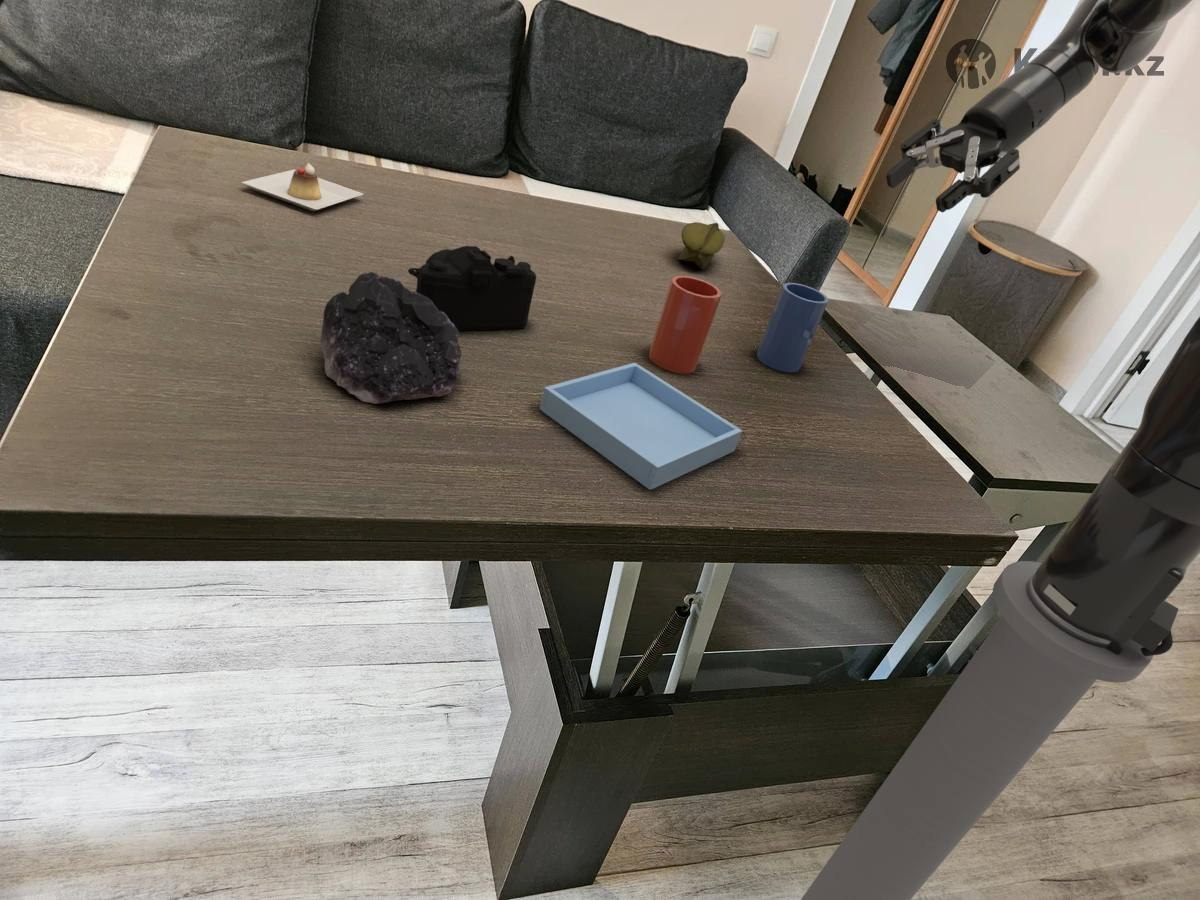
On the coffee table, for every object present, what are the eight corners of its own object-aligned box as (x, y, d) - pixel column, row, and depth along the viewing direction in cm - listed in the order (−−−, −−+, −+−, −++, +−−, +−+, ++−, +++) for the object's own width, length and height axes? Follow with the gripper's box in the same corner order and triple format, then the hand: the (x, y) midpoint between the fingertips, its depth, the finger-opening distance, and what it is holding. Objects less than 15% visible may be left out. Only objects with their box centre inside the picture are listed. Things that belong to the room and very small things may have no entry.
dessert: (240, 190, 110) (240, 155, 108) (293, 176, 120) (295, 144, 118) (316, 217, 109) (318, 182, 106) (363, 201, 119) (366, 169, 116)
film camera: (501, 296, 102) (514, 228, 97) (535, 331, 95) (550, 260, 91) (385, 296, 93) (393, 222, 89) (414, 334, 87) (424, 257, 82)
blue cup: (807, 368, 107) (836, 299, 101) (784, 376, 102) (814, 305, 97) (771, 347, 110) (797, 280, 104) (747, 355, 105) (774, 285, 100)
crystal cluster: (463, 422, 76) (488, 326, 72) (314, 401, 71) (332, 296, 66) (446, 364, 87) (467, 278, 82) (316, 342, 81) (331, 249, 77)
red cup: (704, 368, 98) (731, 294, 93) (675, 377, 94) (701, 300, 89) (668, 346, 101) (692, 273, 96) (639, 354, 97) (661, 278, 92)
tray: (734, 451, 83) (742, 430, 81) (649, 490, 73) (657, 467, 71) (629, 382, 90) (635, 362, 89) (539, 409, 80) (544, 387, 79)
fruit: (652, 246, 135) (663, 208, 132) (709, 251, 141) (721, 215, 138) (685, 273, 127) (697, 234, 124) (744, 278, 133) (758, 240, 130)
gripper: (965, 72, 102) (868, 152, 102) (1061, 102, 92) (953, 191, 92) (970, 120, 107) (878, 196, 107) (1061, 153, 98) (959, 237, 98)
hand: (913, 194), depth 100 cm, fingers open, 8 cm apart
